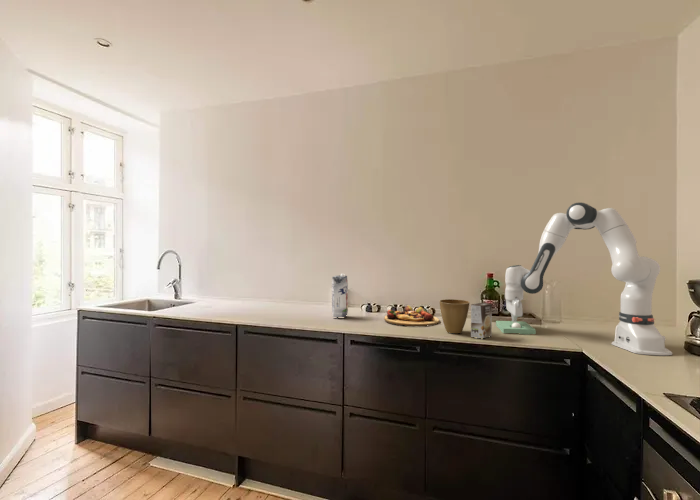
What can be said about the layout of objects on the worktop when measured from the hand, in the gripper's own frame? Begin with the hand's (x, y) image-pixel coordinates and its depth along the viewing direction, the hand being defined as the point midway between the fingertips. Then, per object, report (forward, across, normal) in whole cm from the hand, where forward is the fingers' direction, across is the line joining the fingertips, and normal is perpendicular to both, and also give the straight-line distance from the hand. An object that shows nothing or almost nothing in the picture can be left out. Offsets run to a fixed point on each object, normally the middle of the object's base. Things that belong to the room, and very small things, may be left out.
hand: (514, 322), depth 204 cm
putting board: (+4, -1, 0) cm, 4 cm away
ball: (+1, -6, 0) cm, 6 cm away
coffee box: (+4, -20, +20) cm, 29 cm away
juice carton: (+4, +18, +98) cm, 99 cm away
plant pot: (+4, -12, +32) cm, 34 cm away
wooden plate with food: (+4, +14, +54) cm, 56 cm away
